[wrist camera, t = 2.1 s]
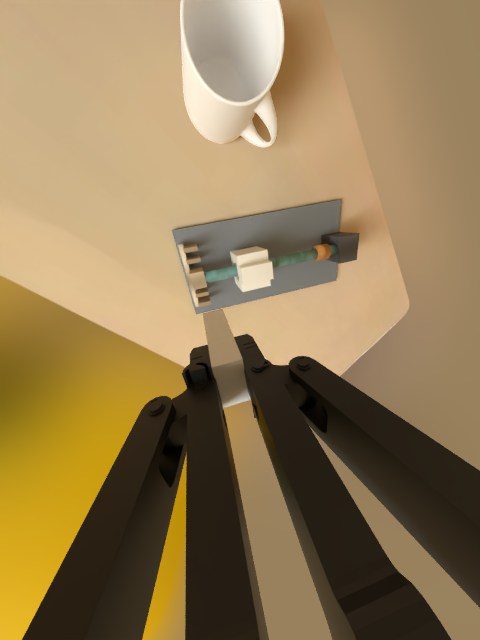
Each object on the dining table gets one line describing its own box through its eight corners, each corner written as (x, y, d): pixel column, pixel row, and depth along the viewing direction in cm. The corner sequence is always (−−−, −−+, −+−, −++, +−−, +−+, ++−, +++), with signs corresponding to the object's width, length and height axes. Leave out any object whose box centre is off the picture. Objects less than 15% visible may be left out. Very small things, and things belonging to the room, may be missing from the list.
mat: (172, 230, 31) (171, 230, 30) (338, 199, 34) (341, 199, 34) (196, 312, 37) (196, 314, 36) (334, 279, 41) (336, 280, 40)
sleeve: (229, 251, 32) (238, 257, 26) (256, 246, 32) (271, 250, 27) (235, 283, 34) (244, 295, 28) (260, 277, 35) (274, 288, 29)
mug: (238, 182, 30) (261, 163, 20) (168, 99, 25) (156, 21, 15) (279, 131, 28) (324, 85, 19) (214, 30, 23) (232, -104, 14)
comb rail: (178, 243, 32) (176, 247, 26) (335, 213, 35) (361, 211, 30) (195, 302, 36) (196, 315, 31) (332, 270, 40) (354, 277, 34)
